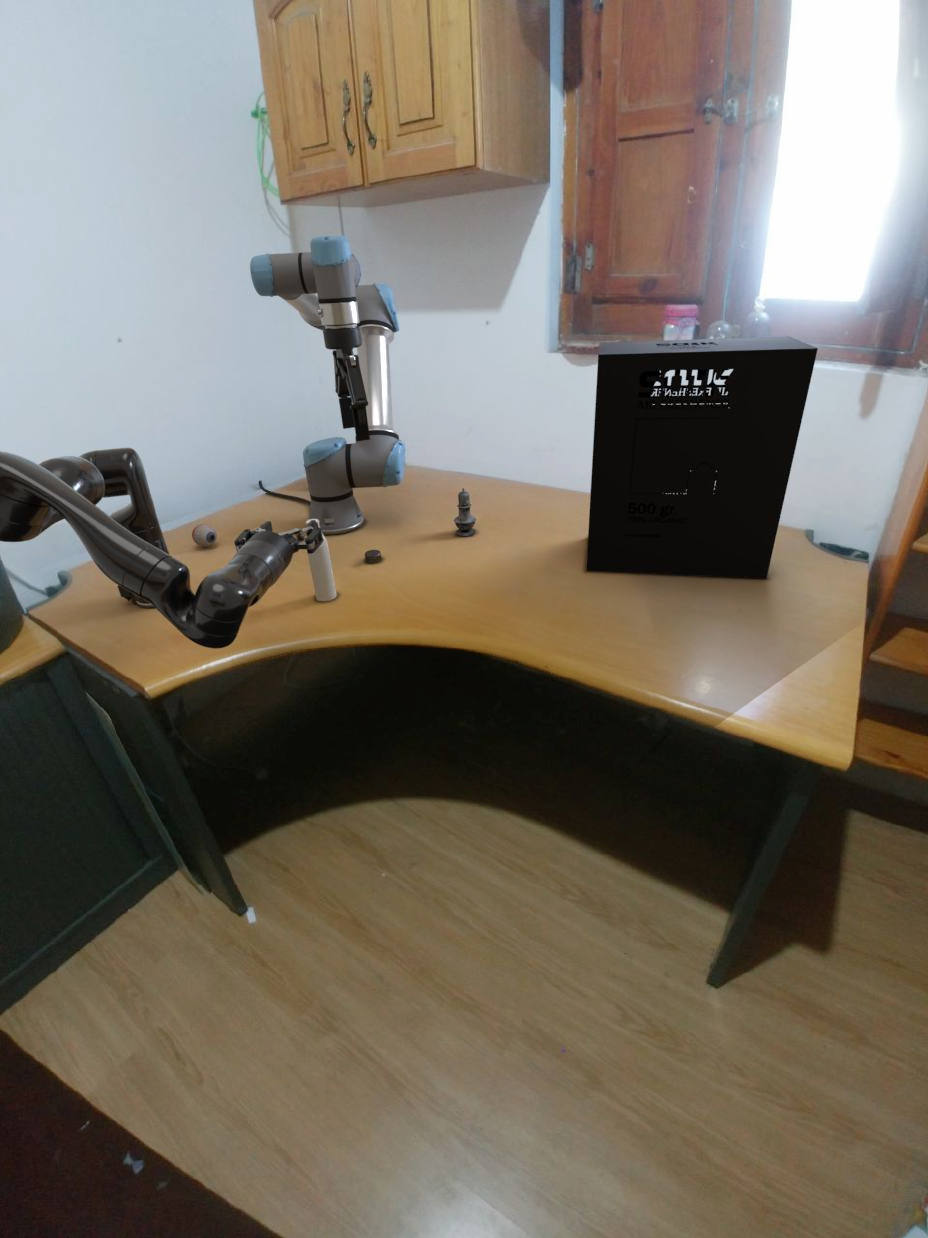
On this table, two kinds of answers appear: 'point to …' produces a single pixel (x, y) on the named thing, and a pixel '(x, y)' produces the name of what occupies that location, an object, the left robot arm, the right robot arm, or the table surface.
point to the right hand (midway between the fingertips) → (356, 433)
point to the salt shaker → (464, 515)
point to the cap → (373, 556)
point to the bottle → (322, 571)
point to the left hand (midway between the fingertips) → (292, 525)
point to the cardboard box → (694, 454)
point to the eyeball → (204, 535)
